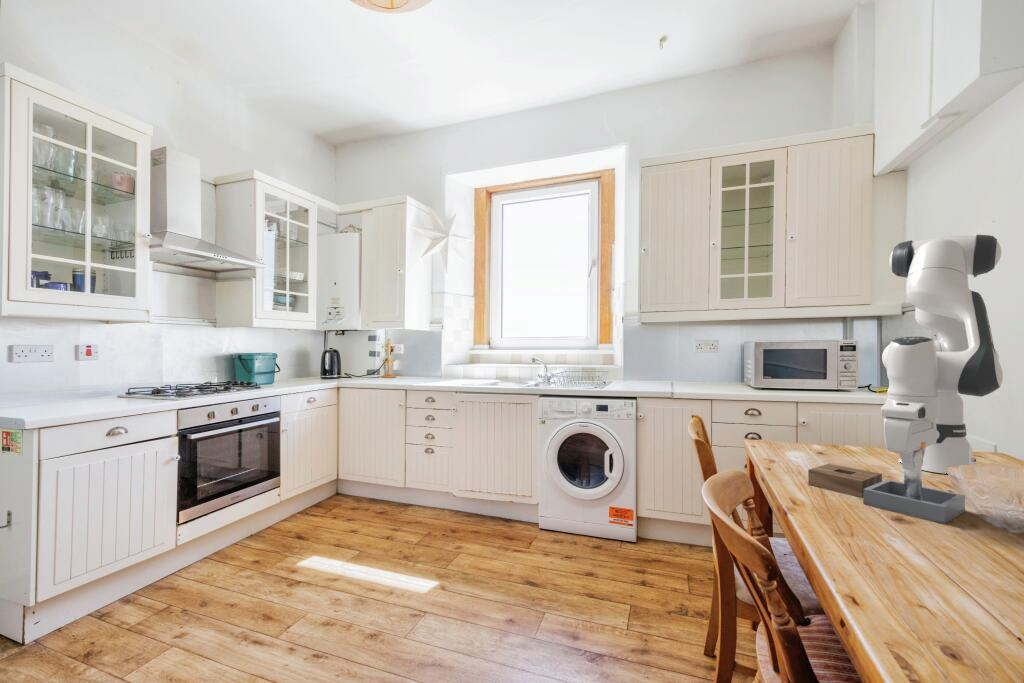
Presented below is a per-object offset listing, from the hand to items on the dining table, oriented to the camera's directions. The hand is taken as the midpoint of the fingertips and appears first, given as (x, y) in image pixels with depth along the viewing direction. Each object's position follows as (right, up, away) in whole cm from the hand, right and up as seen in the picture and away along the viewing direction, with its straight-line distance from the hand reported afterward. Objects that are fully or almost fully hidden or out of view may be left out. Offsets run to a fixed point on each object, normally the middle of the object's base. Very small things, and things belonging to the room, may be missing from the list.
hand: (912, 467), depth 102 cm
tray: (0, -9, 0) cm, 9 cm away
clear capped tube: (0, -7, 0) cm, 7 cm away
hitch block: (-5, -9, +15) cm, 18 cm away
